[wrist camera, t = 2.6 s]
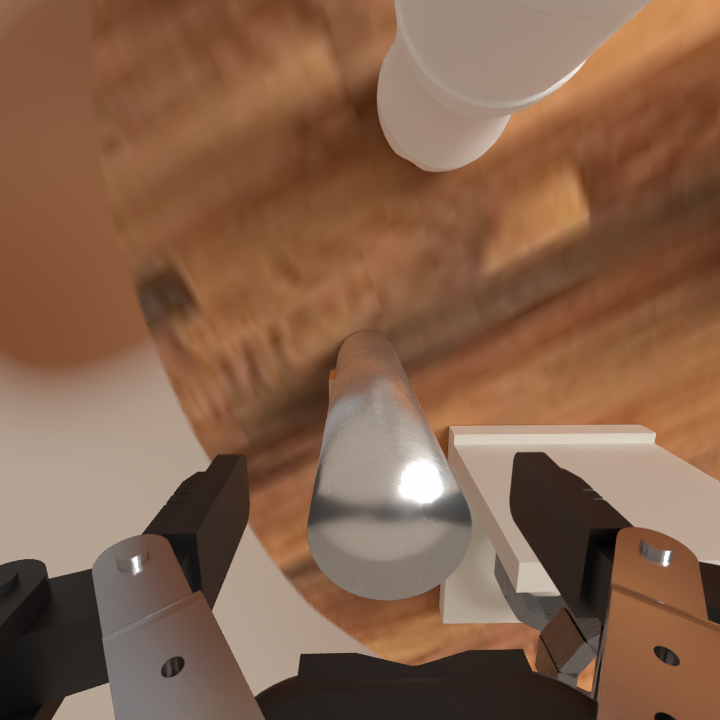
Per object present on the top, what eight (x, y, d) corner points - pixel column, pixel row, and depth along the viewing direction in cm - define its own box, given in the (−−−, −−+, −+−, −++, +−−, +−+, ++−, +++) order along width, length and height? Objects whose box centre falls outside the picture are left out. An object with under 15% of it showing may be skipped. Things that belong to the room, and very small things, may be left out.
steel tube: (396, 330, 26) (477, 456, 9) (395, 386, 27) (466, 599, 10) (336, 330, 26) (299, 457, 9) (336, 386, 27) (305, 601, 10)
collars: (623, 470, 26) (749, 566, 18) (599, 606, 28) (699, 746, 20) (503, 471, 26) (574, 568, 18) (490, 608, 28) (546, 749, 20)
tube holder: (640, 424, 28) (855, 543, 16) (607, 605, 32) (762, 811, 20) (449, 425, 28) (521, 547, 16) (439, 607, 32) (490, 816, 20)
